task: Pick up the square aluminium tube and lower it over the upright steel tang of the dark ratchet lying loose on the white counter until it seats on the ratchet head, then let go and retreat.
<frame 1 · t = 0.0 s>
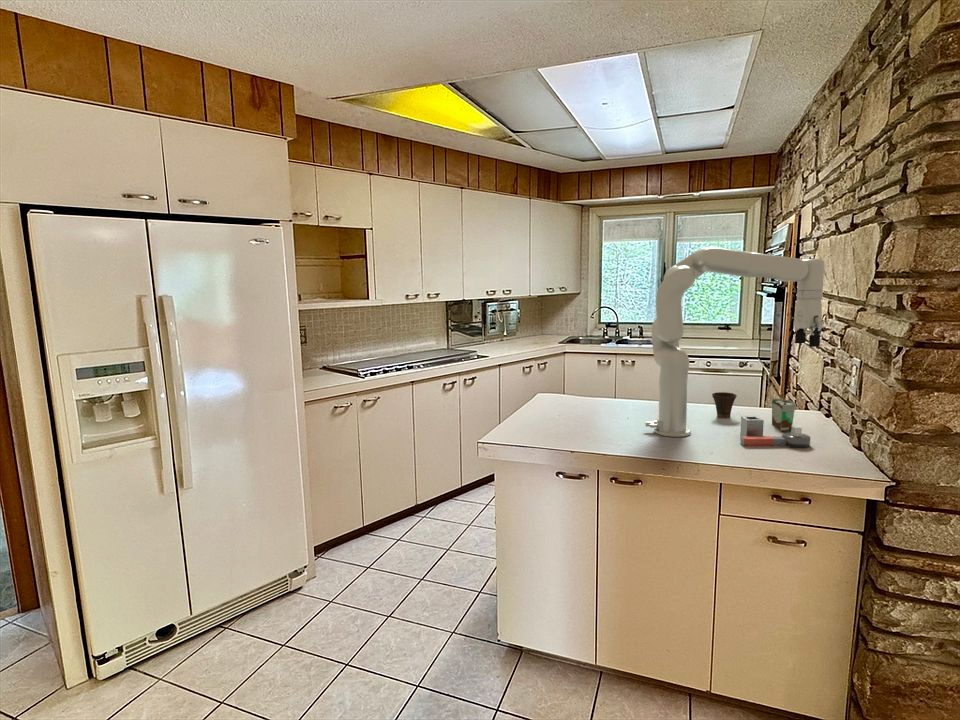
hand: (806, 344, 186), 31 cm above the table, fingers open, 9 cm apart
cup: (723, 417, 214), on the table
ratchet: (795, 444, 177), on the table
food container: (785, 429, 195), on the table
square aluminium tube: (751, 437, 186), on the table
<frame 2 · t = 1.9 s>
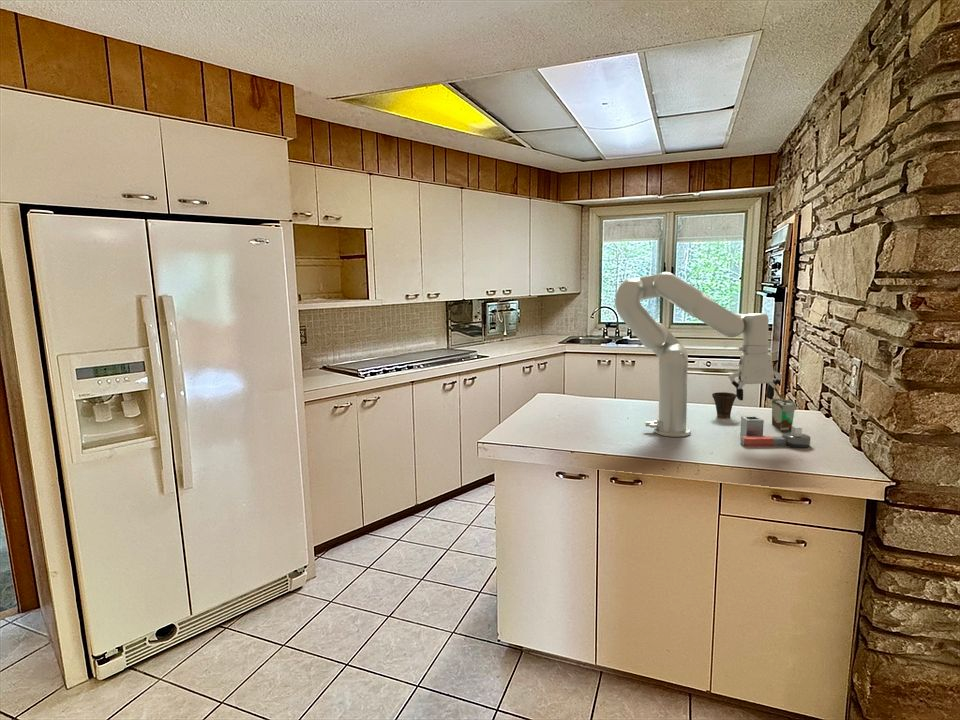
hand: (754, 399, 184), 14 cm above the table, fingers open, 9 cm apart
nothing on the table moved.
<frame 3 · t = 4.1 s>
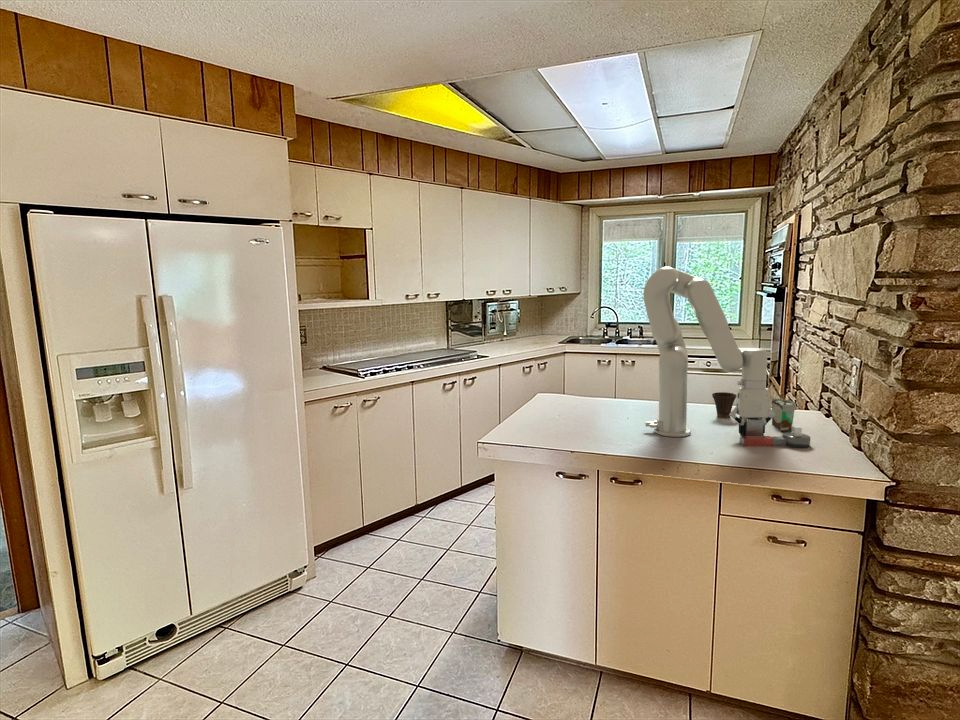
hand: (751, 434, 186), 1 cm above the table, fingers closed on square aluminium tube, 5 cm apart
square aluminium tube: (751, 437, 186), on the table, touching gripper
everything else where it was.
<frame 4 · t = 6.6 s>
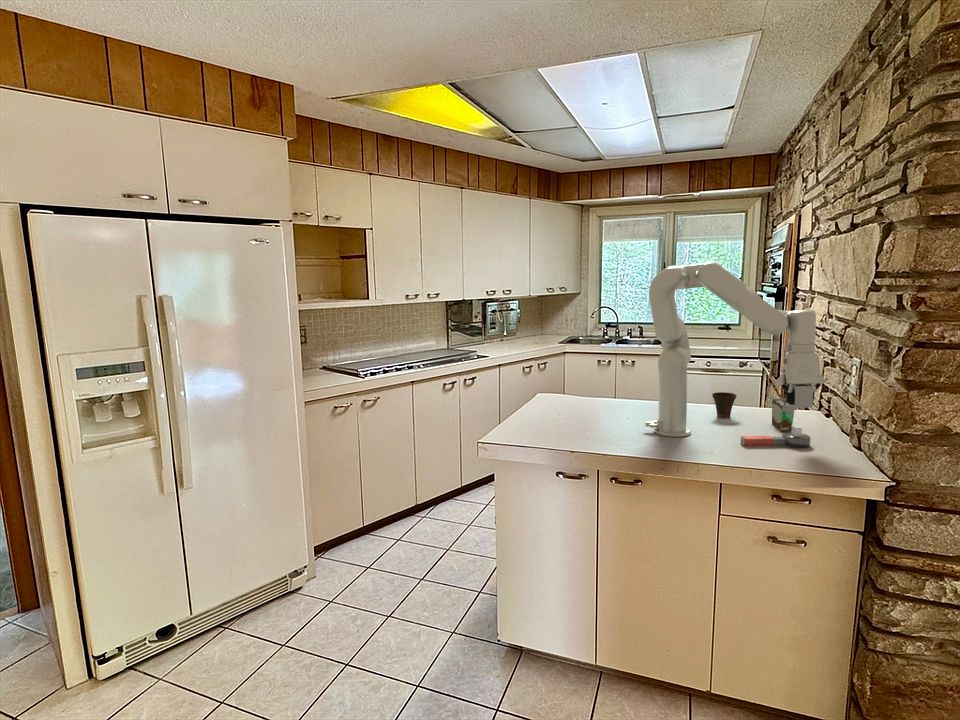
hand: (799, 403, 175), 14 cm above the table, fingers closed on square aluminium tube, 5 cm apart
square aluminium tube: (799, 405, 175), point 13 cm above the table, touching gripper
everything else where it was.
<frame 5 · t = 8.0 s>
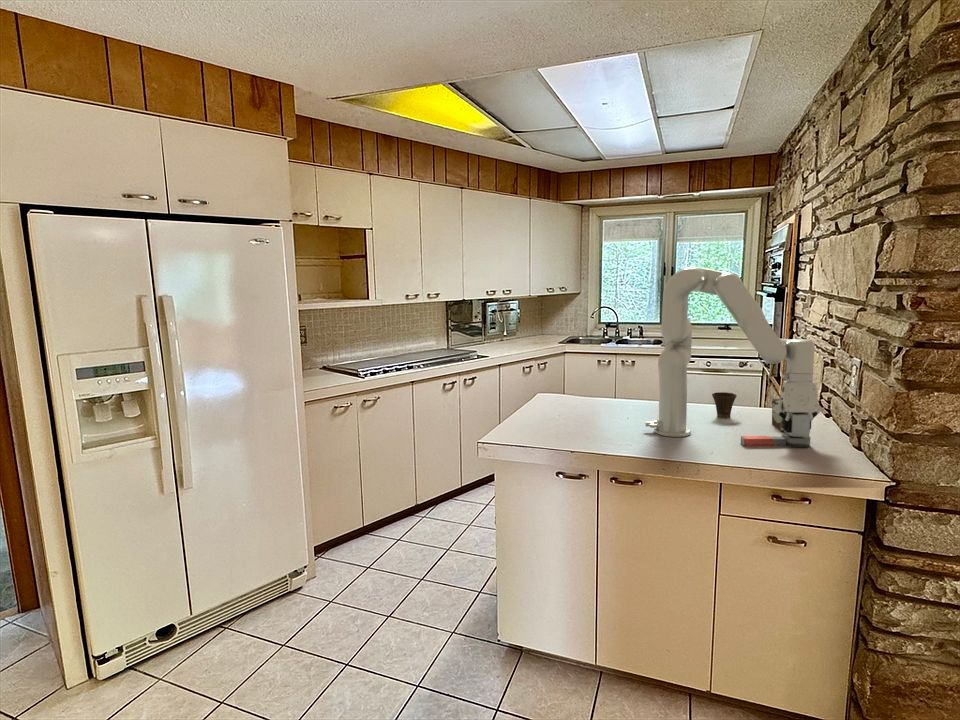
hand: (796, 430, 176), 5 cm above the table, fingers closed on square aluminium tube, 5 cm apart
square aluminium tube: (796, 433, 176), point 4 cm above the table, touching gripper
everything else where it was.
when the fingers open (4 cm above the table, at t = 9.1 s): square aluminium tube stays where it is, resting on ratchet.
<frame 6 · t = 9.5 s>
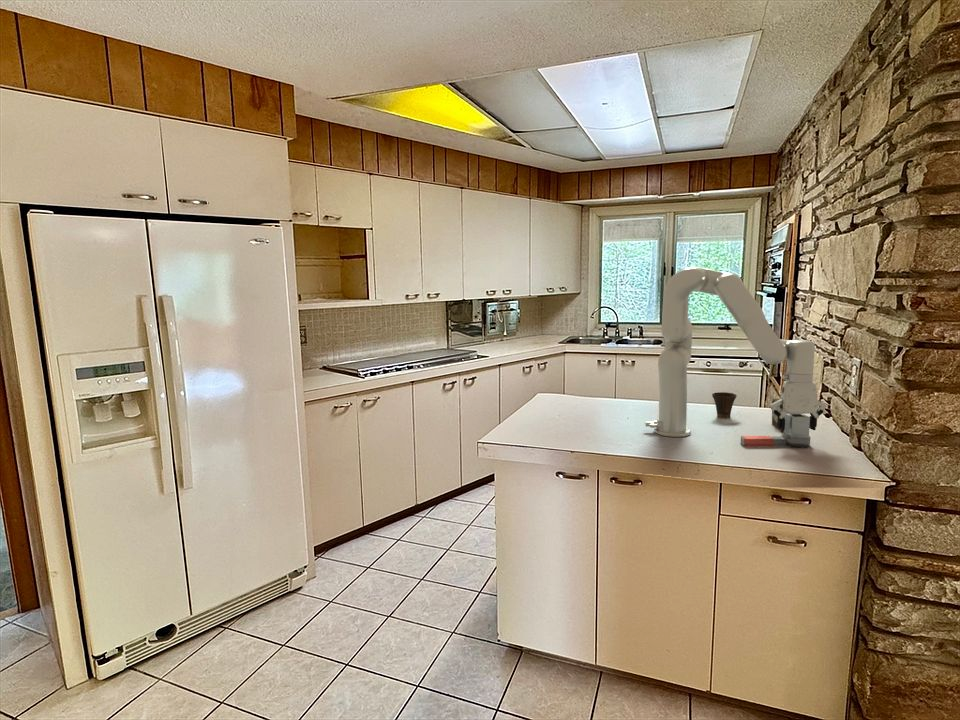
hand: (796, 429, 176), 5 cm above the table, fingers open, 9 cm apart
ratchet: (795, 444, 177), on the table, touching square aluminium tube
square aluminium tube: (795, 435, 177), point 3 cm above the table, touching ratchet
everything else where it was.
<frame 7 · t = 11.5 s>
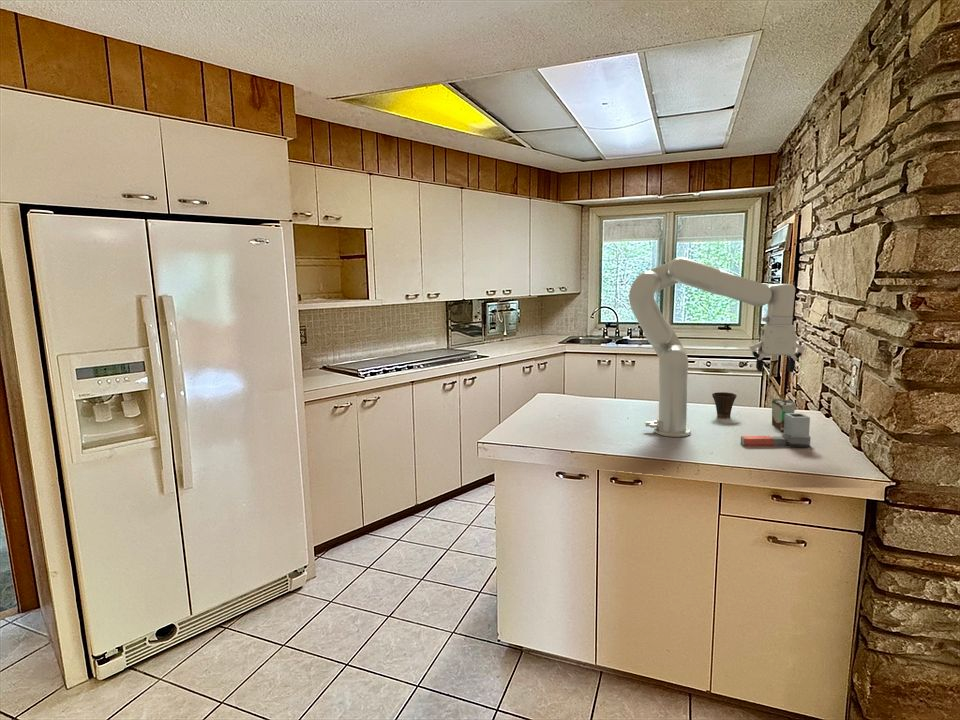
hand: (774, 371, 182), 23 cm above the table, fingers open, 9 cm apart
nothing on the table moved.
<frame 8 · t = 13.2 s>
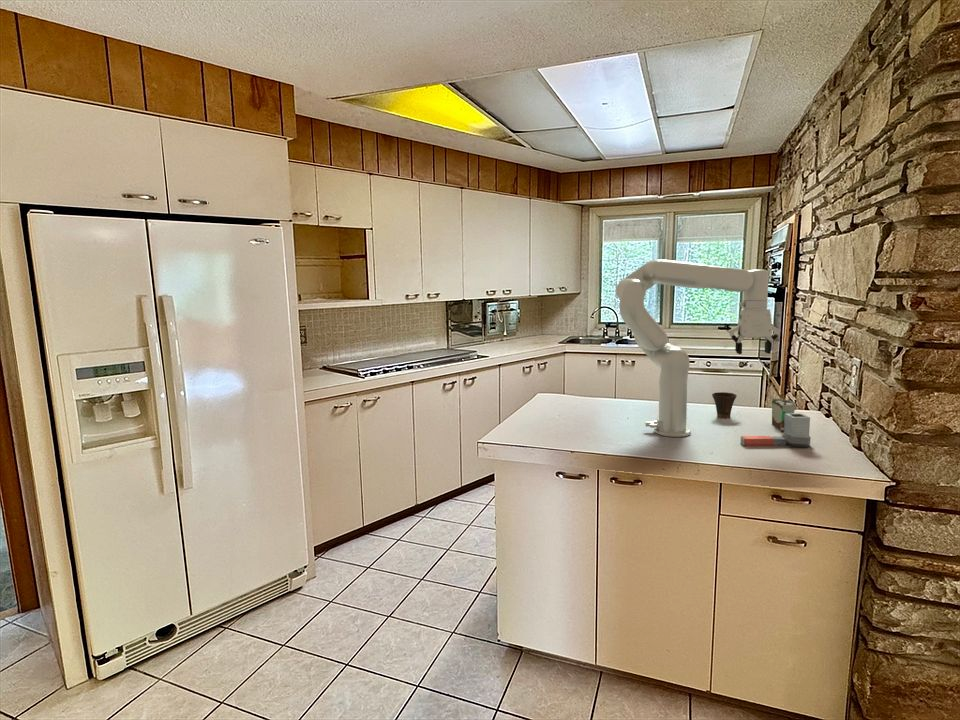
hand: (753, 353, 190), 28 cm above the table, fingers open, 9 cm apart
nothing on the table moved.
at the end: square aluminium tube 0.1 cm off-centre on the ratchet, point 3.0 cm above the ratchet's base; square aluminium tube tilted 0°; the gripper is holding nothing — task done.
